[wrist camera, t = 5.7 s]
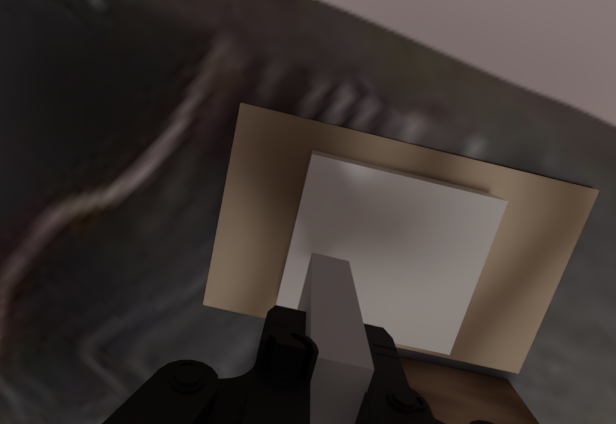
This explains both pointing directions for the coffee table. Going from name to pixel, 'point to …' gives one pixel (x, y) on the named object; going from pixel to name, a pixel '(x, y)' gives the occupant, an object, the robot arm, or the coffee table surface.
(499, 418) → the figurine crate
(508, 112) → the coffee table surface
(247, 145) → the plate
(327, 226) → the block
